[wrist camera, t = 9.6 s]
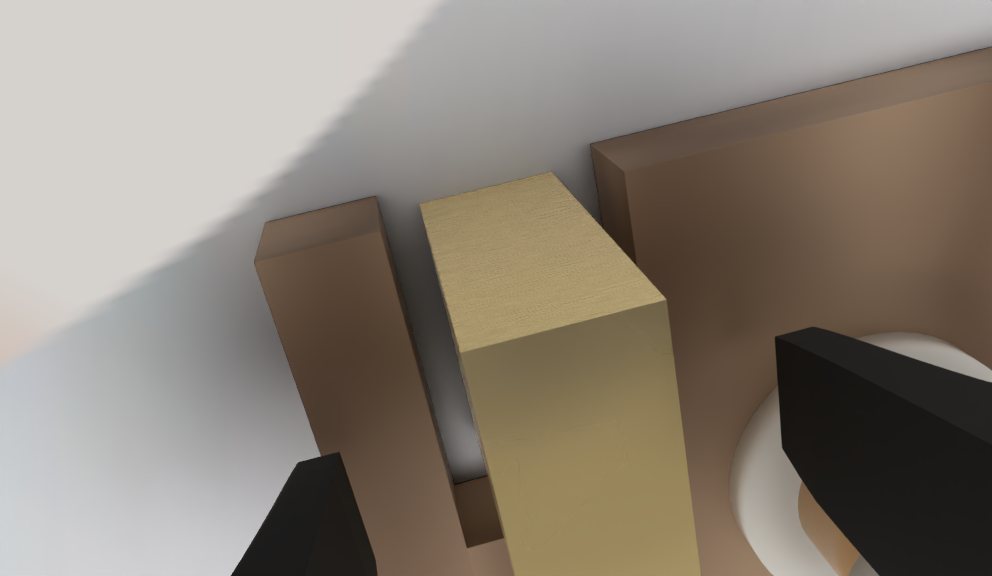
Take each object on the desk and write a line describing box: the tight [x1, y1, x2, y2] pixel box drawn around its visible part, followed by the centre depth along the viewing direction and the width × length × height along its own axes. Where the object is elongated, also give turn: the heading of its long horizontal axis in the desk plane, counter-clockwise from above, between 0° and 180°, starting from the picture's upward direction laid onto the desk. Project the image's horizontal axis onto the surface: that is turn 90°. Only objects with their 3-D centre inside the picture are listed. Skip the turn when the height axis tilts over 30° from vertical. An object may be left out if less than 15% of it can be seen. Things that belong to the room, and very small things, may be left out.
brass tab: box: [419, 172, 701, 576], centre depth 13 cm, size 2×5×6 cm, turn 12°
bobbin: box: [729, 332, 992, 576], centre depth 14 cm, size 6×6×4 cm
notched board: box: [254, 47, 992, 576], centre depth 17 cm, size 20×12×2 cm, turn 101°
